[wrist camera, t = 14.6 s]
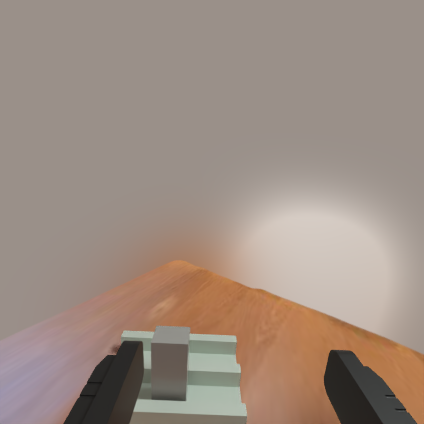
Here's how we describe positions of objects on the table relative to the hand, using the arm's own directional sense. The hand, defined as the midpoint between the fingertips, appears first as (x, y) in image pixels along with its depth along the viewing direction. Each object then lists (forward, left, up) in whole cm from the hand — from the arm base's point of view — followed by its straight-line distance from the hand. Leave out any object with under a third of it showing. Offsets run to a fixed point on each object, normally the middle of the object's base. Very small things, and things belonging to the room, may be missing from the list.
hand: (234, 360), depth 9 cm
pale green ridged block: (+6, -21, -29) cm, 36 cm away
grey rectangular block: (+6, -18, -28) cm, 33 cm away
